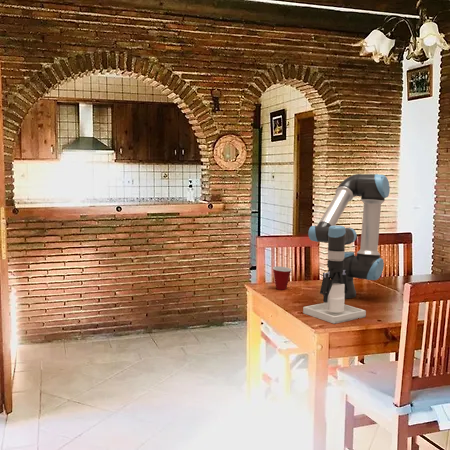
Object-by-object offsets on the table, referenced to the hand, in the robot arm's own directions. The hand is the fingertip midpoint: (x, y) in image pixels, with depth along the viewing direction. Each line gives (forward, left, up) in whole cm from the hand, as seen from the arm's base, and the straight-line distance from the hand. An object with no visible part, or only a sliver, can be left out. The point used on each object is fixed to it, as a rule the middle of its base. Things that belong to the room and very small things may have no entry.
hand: (334, 307), depth 243 cm
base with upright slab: (0, 0, -1) cm, 1 cm away
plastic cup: (-13, -53, -4) cm, 55 cm away
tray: (0, 0, -3) cm, 3 cm away
